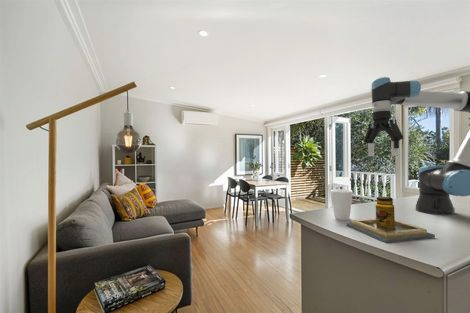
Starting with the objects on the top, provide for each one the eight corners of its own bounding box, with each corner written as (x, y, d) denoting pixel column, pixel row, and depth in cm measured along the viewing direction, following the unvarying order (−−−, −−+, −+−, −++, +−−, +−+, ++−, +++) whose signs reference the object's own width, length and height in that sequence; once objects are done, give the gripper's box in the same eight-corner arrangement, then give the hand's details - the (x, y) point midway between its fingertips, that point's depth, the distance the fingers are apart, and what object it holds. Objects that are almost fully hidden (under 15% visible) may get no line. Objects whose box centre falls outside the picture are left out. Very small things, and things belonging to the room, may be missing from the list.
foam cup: (333, 220, 106) (332, 191, 106) (329, 215, 115) (329, 189, 115) (355, 221, 103) (355, 192, 104) (350, 216, 112) (350, 189, 113)
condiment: (376, 230, 88) (375, 198, 88) (373, 224, 95) (372, 195, 95) (399, 232, 85) (398, 199, 85) (394, 226, 92) (393, 195, 92)
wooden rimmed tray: (387, 222, 101) (387, 216, 101) (434, 237, 81) (434, 230, 81) (346, 225, 97) (346, 219, 97) (386, 242, 78) (385, 235, 78)
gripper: (355, 116, 122) (356, 156, 122) (397, 105, 97) (399, 155, 97) (368, 116, 123) (369, 156, 123) (412, 105, 99) (413, 155, 99)
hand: (382, 156), depth 110 cm, fingers open, 13 cm apart
